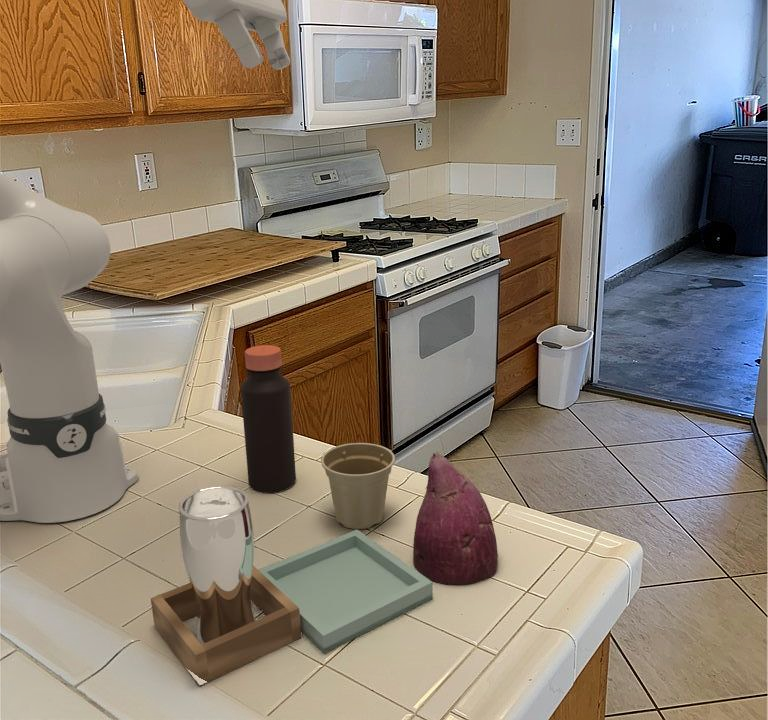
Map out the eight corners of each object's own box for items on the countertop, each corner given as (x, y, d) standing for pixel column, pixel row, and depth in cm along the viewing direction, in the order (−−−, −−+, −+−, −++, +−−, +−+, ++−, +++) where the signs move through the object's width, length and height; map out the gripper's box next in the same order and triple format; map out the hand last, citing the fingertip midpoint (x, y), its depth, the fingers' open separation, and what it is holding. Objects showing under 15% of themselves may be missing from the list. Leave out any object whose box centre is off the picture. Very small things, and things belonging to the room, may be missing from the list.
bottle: (263, 499, 104) (253, 361, 98) (239, 482, 109) (228, 349, 103) (305, 484, 108) (297, 350, 102) (280, 468, 113) (271, 340, 107)
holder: (154, 626, 78) (150, 598, 77) (249, 587, 85) (247, 559, 84) (199, 686, 70) (195, 655, 69) (301, 637, 76) (299, 608, 75)
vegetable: (400, 588, 89) (363, 475, 86) (451, 540, 96) (417, 434, 93) (471, 603, 82) (433, 481, 78) (520, 551, 89) (487, 436, 86)
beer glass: (231, 602, 82) (219, 478, 77) (275, 628, 78) (265, 498, 73) (177, 636, 77) (161, 504, 72) (221, 665, 73) (207, 528, 68)
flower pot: (406, 528, 96) (406, 467, 93) (335, 543, 93) (332, 480, 90) (382, 495, 104) (380, 438, 102) (315, 508, 101) (312, 449, 99)
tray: (255, 587, 85) (254, 571, 84) (357, 544, 93) (356, 529, 92) (324, 653, 74) (323, 635, 73) (432, 598, 82) (432, 582, 81)
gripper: (215, -42, 82) (273, 81, 86) (127, -79, 64) (205, 80, 67) (265, -71, 81) (321, 55, 84) (189, -118, 62) (266, 47, 65)
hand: (269, 66), depth 75 cm, fingers open, 8 cm apart
